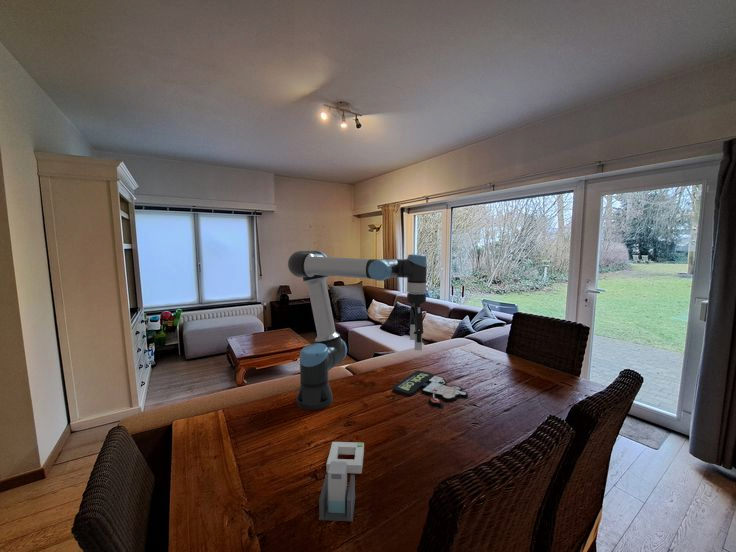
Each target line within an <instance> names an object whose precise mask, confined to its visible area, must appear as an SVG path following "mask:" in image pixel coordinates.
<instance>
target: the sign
mask: <svg viewBox="0 0 736 552" xmlns="http://www.w3.org/2000/svg"><path fill="white" fill-rule="evenodd" d="M420 390H421V391H420ZM419 391H420V393H421V394H424V395H426V396H430V397H429V398H428V404H430V405H431V406H433V407H438V408H442V409H443V408H444V403H443V402H442V401H444V402H449V403H451V402H454V401H456V400H458V399H459V398H462V399H467V398H468V397H469V393H468V392H467V391H464V390H463V388H462V387H461V386H460V385H447V381H446V379H445V377H443V376H440V375H435V374H433V373H431V372H427V371H423V370H415V371H414V372H413V373H411V374H410V375H408V376H406V377H405V378H403V379H401V380H400V381H399V382H398V383H396V384H394V385H393V386H392V392H394V393H396V394H400V395H402V396H406V397H412V396H413V395H415V394H416V393H418V392H419ZM439 398H440V399H439ZM441 400H442V401H441Z"/></svg>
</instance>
